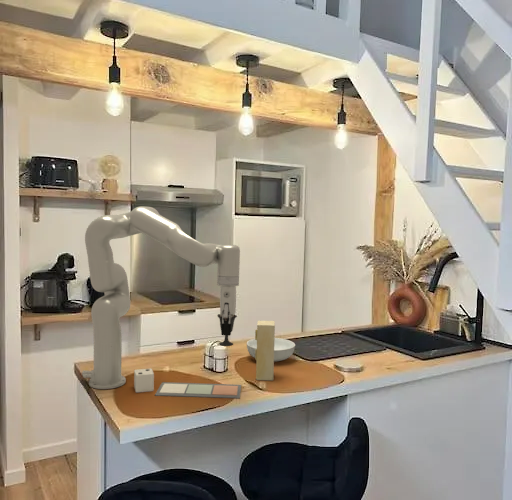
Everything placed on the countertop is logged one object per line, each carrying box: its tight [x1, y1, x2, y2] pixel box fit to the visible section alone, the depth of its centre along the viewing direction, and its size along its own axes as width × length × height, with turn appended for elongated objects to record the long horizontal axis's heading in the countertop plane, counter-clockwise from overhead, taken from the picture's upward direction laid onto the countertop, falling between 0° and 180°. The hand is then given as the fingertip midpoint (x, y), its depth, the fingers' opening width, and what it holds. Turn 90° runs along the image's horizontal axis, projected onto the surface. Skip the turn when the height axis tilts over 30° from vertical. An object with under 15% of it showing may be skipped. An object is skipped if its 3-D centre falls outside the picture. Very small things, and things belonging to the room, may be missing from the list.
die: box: [133, 367, 155, 393], centre depth 168 cm, size 6×6×6 cm
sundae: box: [217, 306, 238, 347], centre depth 166 cm, size 7×7×15 cm
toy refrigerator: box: [254, 320, 276, 381], centre depth 183 cm, size 8×7×21 cm
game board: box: [154, 381, 242, 399], centre depth 168 cm, size 29×12×1 cm, turn 89°
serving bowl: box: [246, 337, 296, 363], centre depth 206 cm, size 21×21×7 cm
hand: (226, 332), depth 166 cm, fingers closed on sundae, 4 cm apart
